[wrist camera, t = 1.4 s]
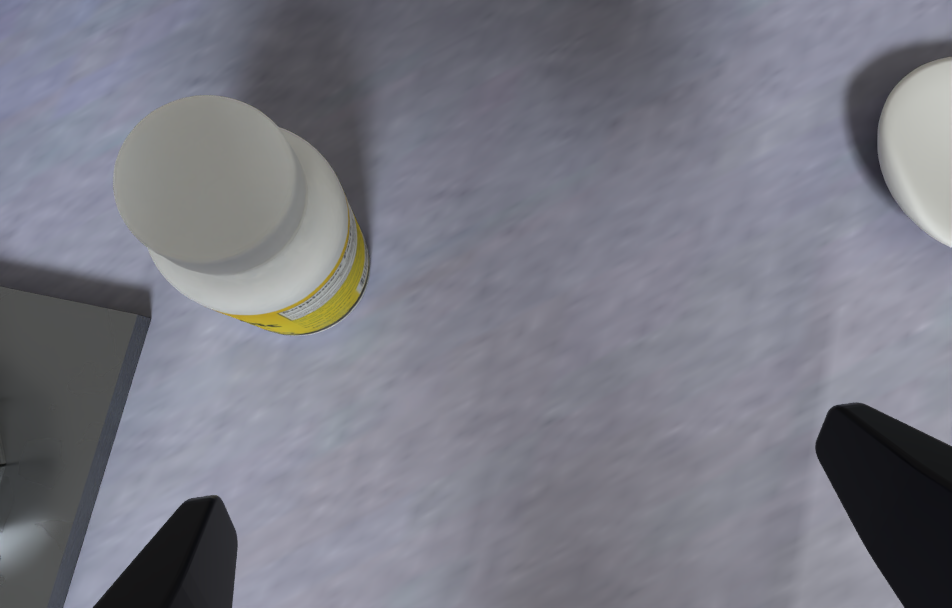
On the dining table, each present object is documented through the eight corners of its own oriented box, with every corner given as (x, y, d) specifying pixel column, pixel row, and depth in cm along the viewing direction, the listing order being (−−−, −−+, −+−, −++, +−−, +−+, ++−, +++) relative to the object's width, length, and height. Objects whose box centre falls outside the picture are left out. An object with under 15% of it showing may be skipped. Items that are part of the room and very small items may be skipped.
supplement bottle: (200, 266, 22) (22, 163, 12) (309, 177, 23) (222, 17, 13) (294, 368, 22) (186, 344, 12) (400, 274, 23) (378, 181, 13)
